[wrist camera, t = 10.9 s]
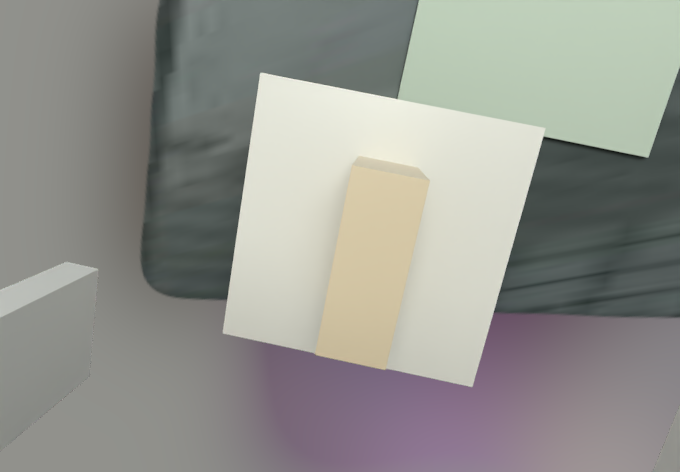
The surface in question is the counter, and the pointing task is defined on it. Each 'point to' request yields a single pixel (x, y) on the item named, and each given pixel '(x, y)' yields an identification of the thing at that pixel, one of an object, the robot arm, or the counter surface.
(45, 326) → the robot arm
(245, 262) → the board
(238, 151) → the counter surface
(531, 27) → the mat
